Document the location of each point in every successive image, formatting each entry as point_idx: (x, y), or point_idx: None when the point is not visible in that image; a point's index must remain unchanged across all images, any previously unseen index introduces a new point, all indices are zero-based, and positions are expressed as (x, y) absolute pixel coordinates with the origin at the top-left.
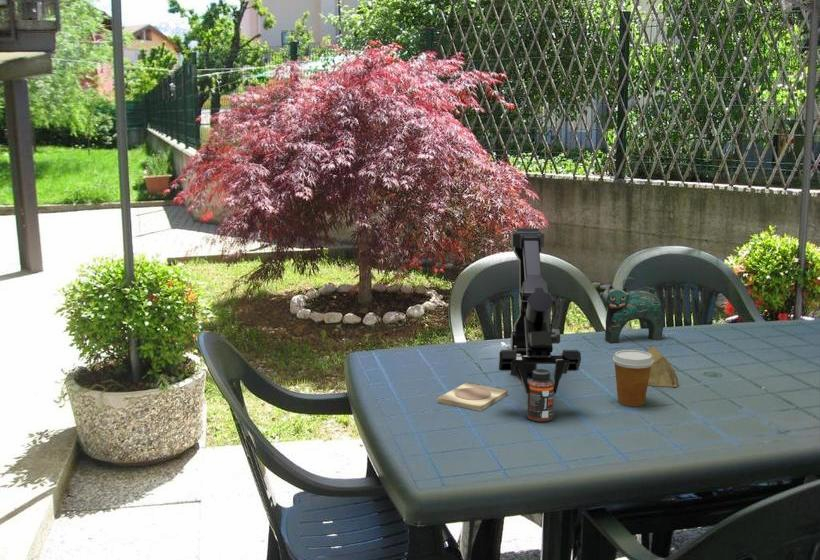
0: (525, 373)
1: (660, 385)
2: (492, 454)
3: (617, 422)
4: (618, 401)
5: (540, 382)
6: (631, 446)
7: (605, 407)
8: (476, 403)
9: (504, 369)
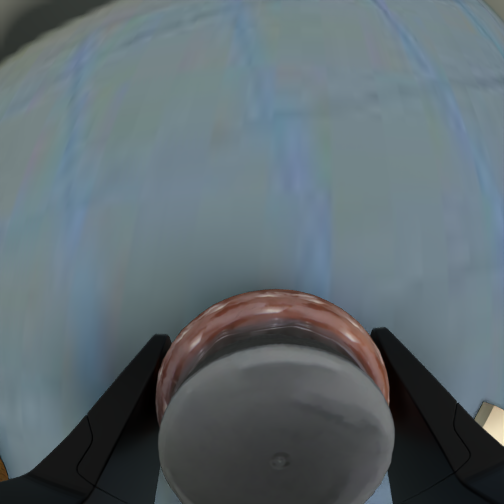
0: (447, 442)
1: None
2: (409, 44)
3: (5, 301)
4: (4, 470)
5: (291, 323)
6: (36, 113)
7: (28, 445)
8: (498, 432)
9: None
